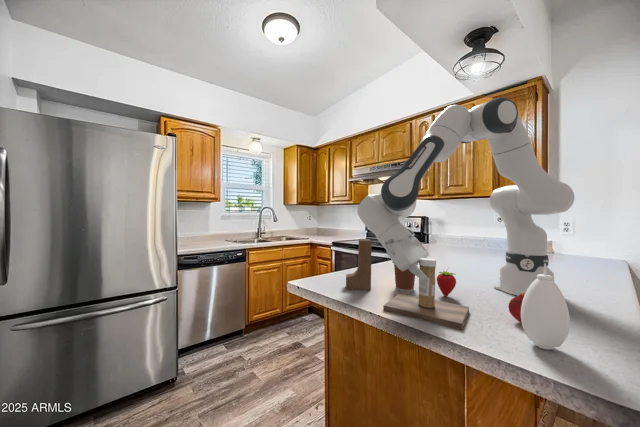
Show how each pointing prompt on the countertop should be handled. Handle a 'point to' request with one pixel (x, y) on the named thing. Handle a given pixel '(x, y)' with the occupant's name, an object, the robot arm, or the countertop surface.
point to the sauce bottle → (545, 313)
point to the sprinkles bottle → (427, 283)
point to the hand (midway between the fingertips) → (428, 275)
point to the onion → (516, 306)
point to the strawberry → (446, 282)
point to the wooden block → (361, 268)
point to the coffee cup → (404, 279)
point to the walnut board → (428, 311)
